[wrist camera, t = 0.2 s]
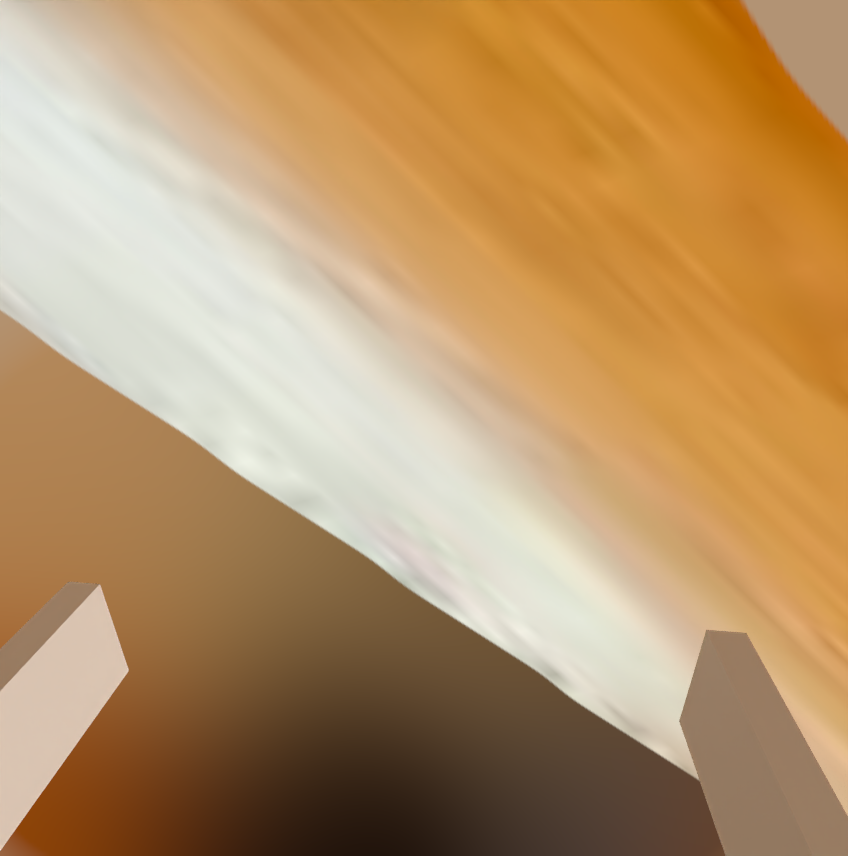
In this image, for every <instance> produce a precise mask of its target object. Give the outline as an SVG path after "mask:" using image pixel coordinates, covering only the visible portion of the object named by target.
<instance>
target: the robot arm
mask: <svg viewBox="0 0 848 856" xmlns="http://www.w3.org/2000/svg"><path fill="white" fill-rule="evenodd" d="M128 671H129V670H128V667H127V664H126V661H125V658H124V655H123V652H122V649H121V646H120V643H119V640H118V638H117V634H116V631H115V628H114V625H113V622H112V619H111V616H110V613H109V610H108V607H107V604H106V601H105V598H104V595H103V592H102V589H101V586H100V584H90V583H78V582H68V583H67V584H66V585H65V586H64V587H63V588H62V589H61V590H60V591H58V592H57V594H55V595H54V596H53V597H52V599H50V600H49V601H48V602H47V603H46V604H45V605H44V606H43V607H42V608H41V609H40V610H39V611H38V612H37V613H36V614H35V615H34V616H33V617H32V618H31V619H30V620H29V621H28V622H27V623H26V624H25V625H24V626H23V627H22V628H21V629H20V630H19V631H18V632H17V633H16V634H15V635H14V636H13V637H12V638H11V639H10V640H9V641H8V642H7V643H6V644H5V645H4V646H3V647H2V648H1V649H0V850H1V849H2V848H3V846H4V845H5V843H6V842H7V841H8V839H9V837H10V836H11V834H13V832H14V831H15V829H16V828H17V826H18V825H19V824H20V822H21V821H22V819H23V818H24V817H25V815H26V814H27V812H28V811H29V810H30V808H31V807H32V806H33V804H34V803H35V801H36V800H37V798H38V797H39V796H40V794H41V793H42V792H43V790H44V789H45V787H46V786H47V785H48V783H49V782H50V780H51V779H52V777H53V776H54V775H55V773H56V772H57V771H58V769H59V768H60V766H61V765H62V763H63V762H64V761H65V759H66V758H67V757H68V755H69V754H70V752H71V751H72V750H73V748H74V747H75V745H76V744H77V742H78V741H79V740H80V738H81V737H82V736H83V734H84V733H85V731H86V730H87V728H88V727H89V726H90V724H91V723H92V721H93V720H94V719H95V717H96V716H97V715H98V713H99V712H100V710H101V709H102V708H103V706H104V705H105V703H106V702H107V700H108V699H109V698H110V696H111V695H112V693H113V692H114V691H115V689H116V688H117V687H118V685H119V684H120V682H121V681H122V679H123V678H124V677H125V675H126V674H127V673H128ZM679 722H680V725H681V727H682V730H683V733H684V736H685V739H686V742H687V745H688V748H689V751H690V754H691V756H692V759H693V762H694V765H695V768H696V771H697V774H698V777H699V780H700V783H701V785H702V788H703V791H704V794H705V797H706V800H707V803H708V806H709V809H710V812H711V814H712V817H713V820H714V823H715V826H716V829H717V832H718V835H719V838H720V841H721V843H722V846H723V849H724V852H725V855H726V856H848V816H847V814H846V813H845V811H844V809H843V807H842V805H841V804H840V802H839V800H838V798H837V796H836V794H835V793H834V791H833V789H832V787H831V785H830V784H829V782H828V780H827V778H826V776H825V775H824V773H823V771H822V769H821V767H820V766H819V764H818V762H817V760H816V758H815V757H814V755H813V753H812V751H811V749H810V747H809V746H808V744H807V742H806V740H805V738H804V737H803V735H802V733H801V731H800V729H799V728H798V726H797V724H796V722H795V720H794V719H793V717H792V715H791V713H790V711H789V710H788V708H787V706H786V704H785V702H784V700H783V699H782V697H781V695H780V693H779V691H778V690H777V688H776V686H775V684H774V682H773V681H772V679H771V677H770V675H769V673H768V672H767V670H766V668H765V666H764V664H763V663H762V661H761V659H760V657H759V655H758V653H757V652H756V650H755V648H754V646H753V644H752V643H751V641H750V639H749V637H748V635H747V634H746V633H739V632H726V631H713V630H706V633H705V637H704V640H703V643H702V647H701V650H700V653H699V657H698V660H697V663H696V667H695V670H694V674H693V677H692V680H691V684H690V687H689V690H688V694H687V697H686V700H685V704H684V707H683V711H682V714H681V717H680V721H679Z"/></svg>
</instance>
